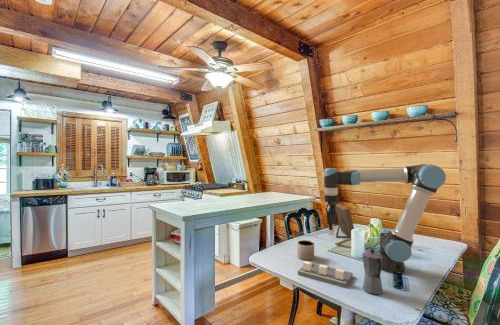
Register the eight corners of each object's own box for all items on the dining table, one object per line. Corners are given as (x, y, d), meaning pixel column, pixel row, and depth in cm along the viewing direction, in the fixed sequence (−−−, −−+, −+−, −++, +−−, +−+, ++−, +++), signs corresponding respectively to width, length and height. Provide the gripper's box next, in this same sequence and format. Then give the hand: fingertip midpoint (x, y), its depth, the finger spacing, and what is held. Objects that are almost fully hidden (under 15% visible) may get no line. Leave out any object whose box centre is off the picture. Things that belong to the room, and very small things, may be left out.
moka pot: (374, 283, 136) (375, 245, 136) (391, 299, 121) (392, 256, 120) (356, 283, 136) (357, 245, 135) (371, 299, 120) (372, 256, 120)
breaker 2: (344, 277, 137) (344, 270, 137) (343, 280, 134) (343, 272, 134) (336, 275, 139) (336, 268, 139) (335, 278, 137) (335, 270, 137)
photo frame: (345, 231, 230) (345, 203, 230) (356, 239, 209) (356, 208, 208) (329, 231, 230) (329, 203, 230) (338, 239, 208) (337, 208, 208)
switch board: (352, 276, 144) (352, 272, 144) (345, 287, 131) (345, 283, 131) (307, 265, 158) (307, 262, 158) (297, 274, 146) (297, 270, 146)
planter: (314, 261, 165) (314, 246, 165) (297, 259, 167) (297, 245, 167) (313, 254, 175) (314, 240, 175) (297, 253, 178) (297, 239, 177)
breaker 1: (311, 269, 147) (311, 262, 147) (309, 271, 144) (309, 264, 144) (305, 267, 149) (305, 260, 149) (302, 269, 147) (303, 262, 147)
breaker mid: (327, 273, 142) (327, 266, 142) (326, 275, 140) (326, 267, 140) (320, 271, 144) (320, 264, 144) (318, 273, 142) (318, 266, 142)
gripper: (327, 192, 159) (328, 231, 160) (321, 195, 148) (321, 236, 149) (340, 193, 155) (340, 233, 155) (334, 196, 144) (334, 238, 145)
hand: (331, 234), depth 152 cm, fingers closed
